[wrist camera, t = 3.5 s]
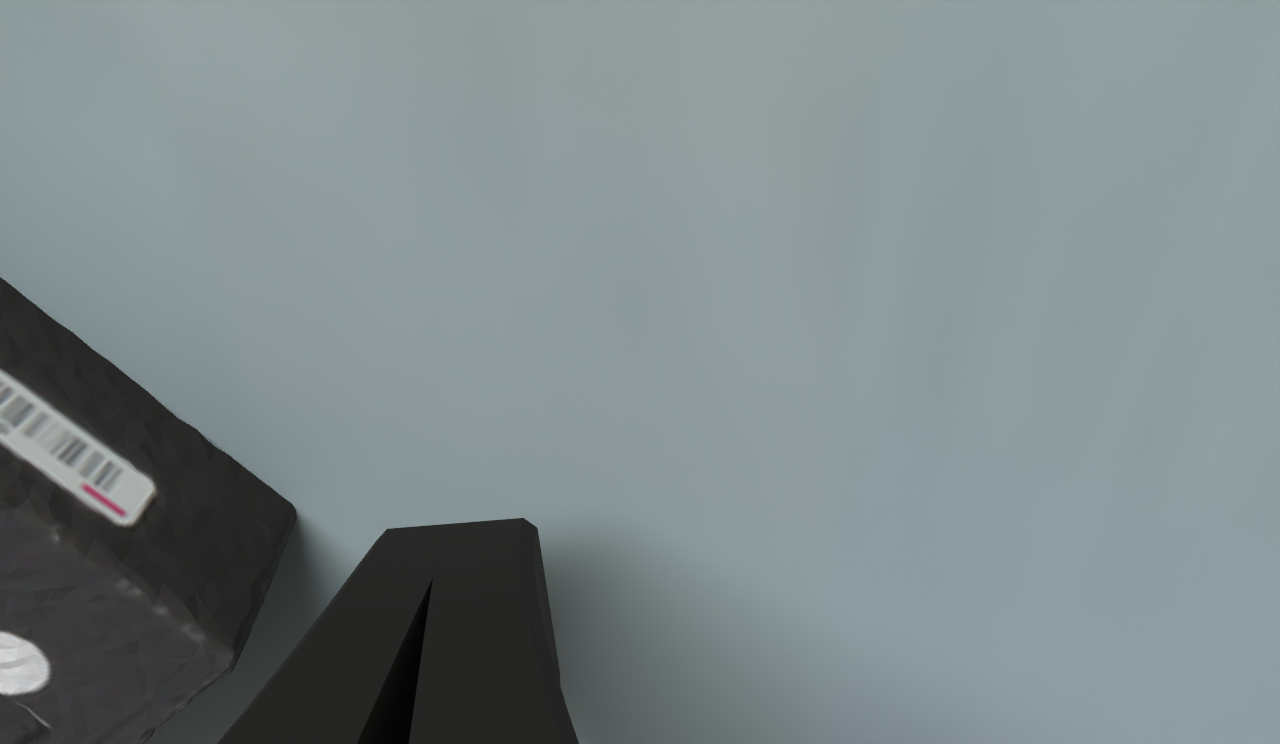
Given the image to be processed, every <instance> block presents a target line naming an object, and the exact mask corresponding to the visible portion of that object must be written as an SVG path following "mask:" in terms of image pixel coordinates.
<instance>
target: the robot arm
mask: <svg viewBox="0 0 1280 744" xmlns="http://www.w3.org/2000/svg"><path fill="white" fill-rule="evenodd" d="M217 744H579V742H578V740H577V737H576V734H575V731H574V728H573V725H572V722H571V719H570V716H569V713H568V710H567V707H566V704H565V701H564V697H563V694H562V691H561V687H560V672H559V666H558V659H557V653H556V646H555V640H554V633H553V627H552V620H551V614H550V607H549V601H548V594H547V588H546V581H545V575H544V568H543V562H542V555H541V549H540V542H539V536H538V529H537V527H535V526H534V525H532V524H531V523H530V522H528V521H527V520H525V519H524V518H518V519H506V520H493V521H481V522H468V523H456V524H443V525H431V526H418V527H406V528H393V529H387V530H386V531H385V532H384V533H383V534H382V535H381V536H380V537H379V539H378V540H377V541H376V542H375V543H374V545H373V546H372V547H371V549H370V550H369V551H368V553H367V554H366V555H365V557H364V558H363V559H362V561H361V562H360V563H359V565H358V566H357V567H356V569H355V570H354V571H353V573H352V574H351V575H350V577H349V578H348V579H347V581H346V582H345V583H344V585H343V586H342V587H341V589H340V590H339V592H338V593H337V594H336V596H335V597H334V598H333V600H332V601H331V602H330V604H329V605H328V606H327V607H326V609H325V610H324V611H323V613H322V614H321V615H320V617H319V618H318V619H317V621H316V622H315V623H314V625H313V626H312V627H311V628H310V630H309V631H308V632H307V634H306V635H305V636H304V638H303V639H302V640H301V642H300V643H299V644H298V645H297V647H296V648H295V649H294V650H293V652H292V653H291V654H290V655H289V657H288V658H287V659H286V660H285V662H284V663H283V664H282V665H281V667H280V668H279V669H278V670H277V672H276V673H275V674H274V675H273V677H272V678H271V679H270V680H269V682H268V683H267V684H266V685H265V687H264V688H263V689H262V690H261V692H260V693H259V694H258V695H257V697H256V698H255V699H254V700H253V702H252V703H251V704H250V705H249V707H248V708H247V709H246V710H245V711H244V713H243V714H242V715H241V716H240V718H239V719H238V720H237V721H236V722H235V724H234V725H233V726H232V727H231V728H230V729H229V731H228V732H227V733H226V734H225V735H224V736H223V738H222V739H221V740H220V741H219V742H218V743H217Z"/></svg>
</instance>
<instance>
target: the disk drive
mask: <svg viewBox="0 0 1280 744" xmlns="http://www.w3.org/2000/svg"><path fill="white" fill-rule="evenodd" d="M295 520H296V510H295V508H294V506H293V505H292V504H291V503H290V502H289V501H287V500H286V499H285V498H283V497H282V496H281V495H279V494H278V493H277V492H276V491H274V490H273V489H272V488H271V487H269V486H268V485H266V484H265V483H263V482H262V481H261V480H260V479H259V478H257V477H256V476H255V475H254V474H252V473H251V472H250V471H248V470H247V469H246V468H244V467H243V466H242V465H241V464H239V463H238V462H237V461H235V460H234V459H233V458H232V457H231V456H229V455H228V454H226V453H225V452H223V451H221V450H220V449H218V448H216V447H215V446H213V445H212V444H211V443H210V442H209V441H207V440H206V439H205V438H204V437H203V436H202V435H201V434H200V433H199V432H198V431H197V430H196V429H195V428H193V427H192V426H190V425H188V424H186V423H185V422H183V421H181V420H180V419H178V418H176V417H175V416H174V415H173V414H172V413H171V412H169V411H168V410H167V409H166V408H165V407H164V406H162V405H161V404H160V403H159V402H158V401H157V400H156V399H155V398H154V397H153V396H152V395H151V394H149V393H148V392H147V391H146V390H145V389H144V388H142V387H141V386H140V385H139V384H137V383H136V382H135V381H133V380H132V379H131V378H129V377H128V376H127V375H125V374H124V373H123V372H122V371H121V370H119V369H118V368H117V367H116V366H115V365H114V364H112V363H111V362H110V361H108V360H107V359H105V358H104V357H102V356H101V355H100V354H98V353H97V352H95V351H94V350H92V349H91V348H90V347H89V346H88V345H87V344H86V343H85V342H83V341H82V340H81V339H80V338H79V337H77V336H76V335H75V334H74V333H73V332H71V331H70V330H68V329H67V328H65V327H63V326H62V325H60V324H59V323H57V322H56V321H55V320H53V319H52V318H51V317H49V316H48V315H47V314H46V313H45V312H43V311H42V310H41V309H40V308H38V307H37V306H36V305H35V304H34V303H32V302H31V301H29V300H28V299H27V298H26V297H24V296H23V295H22V294H21V293H20V292H18V291H17V290H16V289H15V288H13V287H12V286H11V285H10V284H8V283H7V282H6V281H5V280H3V279H2V278H0V744H143V743H144V742H145V741H147V740H148V739H149V738H150V737H151V736H152V735H153V733H154V731H155V729H156V728H157V727H159V726H160V725H161V724H163V723H164V722H165V721H166V720H168V719H169V718H170V717H172V716H173V715H174V714H175V713H177V712H178V711H180V710H181V709H183V708H184V707H185V706H186V705H187V704H188V703H189V702H190V701H191V700H192V699H193V697H194V696H196V695H197V694H199V693H200V692H202V691H203V690H205V689H206V688H207V687H209V686H210V685H211V684H212V683H214V682H215V681H216V680H217V679H218V678H220V677H222V676H224V675H226V674H228V673H230V672H232V670H233V668H234V666H235V665H236V663H237V661H238V658H239V656H240V654H241V652H242V650H243V648H244V645H245V643H246V641H247V639H248V637H249V634H250V632H251V629H252V626H253V624H254V621H255V619H256V617H257V615H258V613H259V610H260V608H261V606H262V604H263V601H264V596H265V594H266V592H267V590H268V588H269V585H270V583H271V580H272V577H273V575H274V573H275V571H276V569H277V566H278V563H279V560H280V558H281V555H282V552H283V549H284V547H285V544H286V542H287V539H288V537H289V535H290V532H291V530H292V527H293V524H294V522H295Z"/></svg>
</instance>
